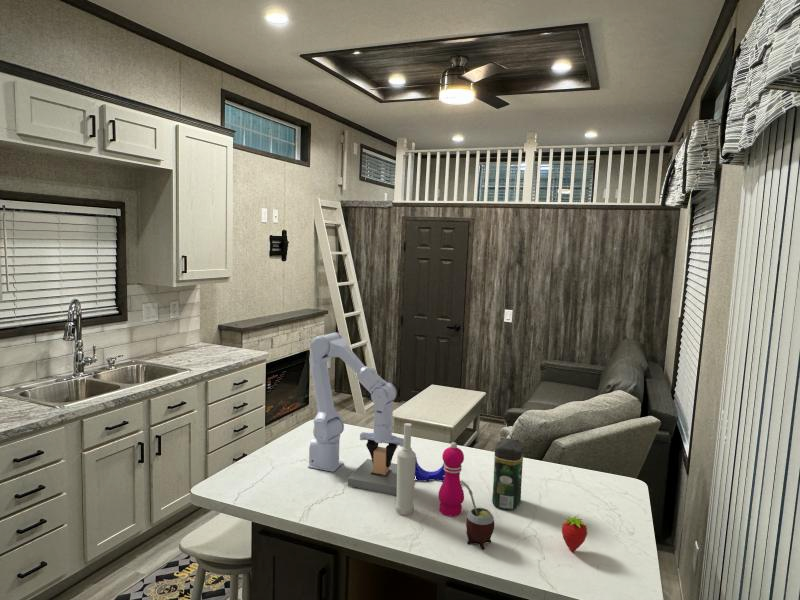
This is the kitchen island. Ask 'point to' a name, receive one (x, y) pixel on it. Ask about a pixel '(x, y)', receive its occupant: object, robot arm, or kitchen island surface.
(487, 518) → the mate gourd
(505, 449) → the coffee jar
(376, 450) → the plug
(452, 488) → the pepper mill
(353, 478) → the socket plate
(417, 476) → the cable clip
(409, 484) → the bottle
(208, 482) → the kitchen island surface
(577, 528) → the strawberry
